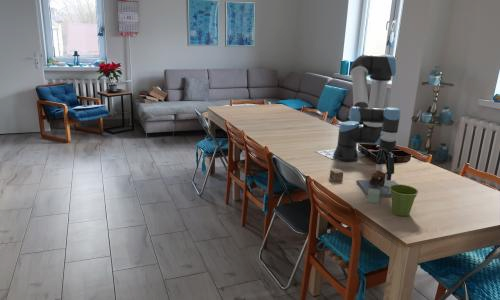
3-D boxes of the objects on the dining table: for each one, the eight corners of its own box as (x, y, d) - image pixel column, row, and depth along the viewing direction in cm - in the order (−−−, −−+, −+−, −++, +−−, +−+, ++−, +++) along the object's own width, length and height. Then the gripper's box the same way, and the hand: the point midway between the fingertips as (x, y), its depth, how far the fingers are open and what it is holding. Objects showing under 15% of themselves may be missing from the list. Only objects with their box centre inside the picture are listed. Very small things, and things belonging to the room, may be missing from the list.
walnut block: (329, 178, 217) (330, 169, 215) (337, 177, 218) (338, 168, 217) (334, 181, 212) (335, 172, 211) (342, 180, 214) (343, 172, 212)
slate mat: (356, 182, 212) (356, 179, 212) (393, 183, 213) (394, 180, 212) (367, 196, 195) (367, 193, 194) (407, 197, 196) (408, 194, 195)
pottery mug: (364, 182, 207) (371, 168, 208) (380, 191, 209) (387, 176, 209) (374, 185, 196) (382, 170, 196) (390, 194, 197) (398, 179, 197)
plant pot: (385, 205, 185) (389, 182, 182) (413, 209, 182) (417, 186, 179) (386, 216, 174) (390, 192, 171) (415, 220, 171) (419, 196, 168)
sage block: (367, 197, 193) (368, 188, 192) (378, 199, 192) (379, 189, 190) (367, 201, 188) (368, 192, 187) (378, 203, 187) (379, 193, 186)
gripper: (372, 133, 208) (367, 172, 214) (389, 146, 184) (383, 190, 191) (386, 133, 208) (381, 173, 214) (405, 146, 185) (399, 190, 191)
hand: (382, 181), depth 202 cm, fingers closed on pottery mug, 12 cm apart
